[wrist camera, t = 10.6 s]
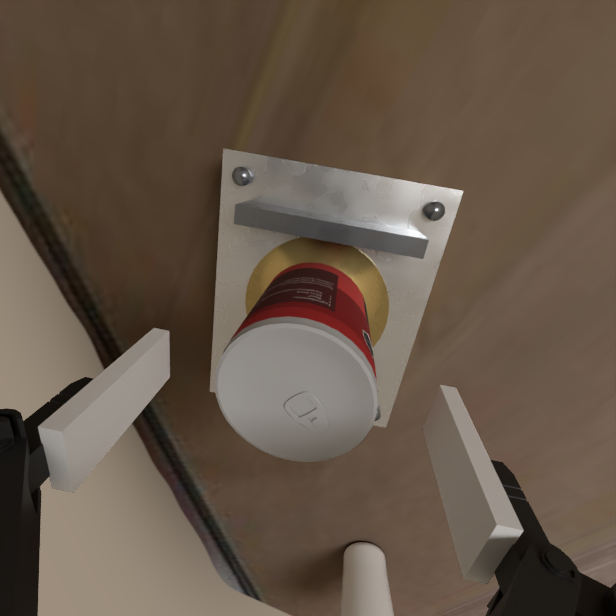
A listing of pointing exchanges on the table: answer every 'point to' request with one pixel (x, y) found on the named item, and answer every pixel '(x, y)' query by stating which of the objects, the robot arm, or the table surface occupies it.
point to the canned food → (302, 367)
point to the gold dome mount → (331, 247)
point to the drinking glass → (365, 582)
